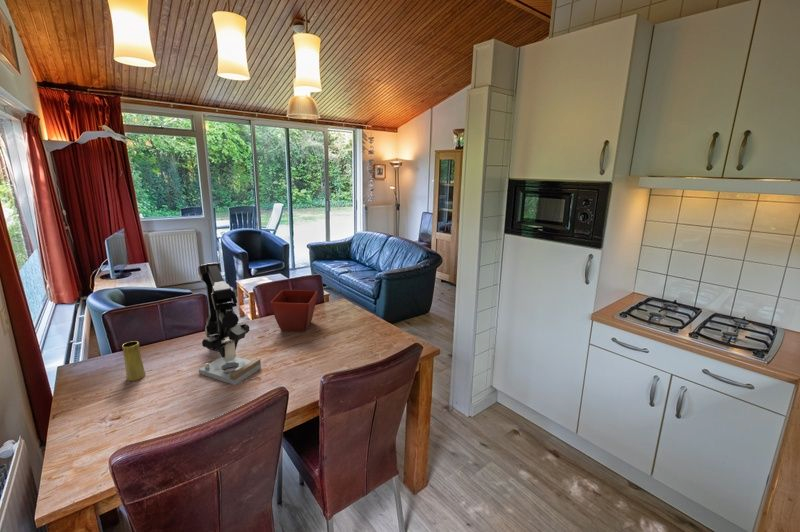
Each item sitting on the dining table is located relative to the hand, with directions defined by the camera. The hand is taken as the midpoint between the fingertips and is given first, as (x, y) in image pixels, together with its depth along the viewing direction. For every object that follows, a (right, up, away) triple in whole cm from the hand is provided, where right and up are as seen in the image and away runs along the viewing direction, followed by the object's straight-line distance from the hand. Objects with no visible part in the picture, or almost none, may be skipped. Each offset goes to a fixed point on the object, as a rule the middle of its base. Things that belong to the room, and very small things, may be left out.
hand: (228, 354), depth 152 cm
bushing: (0, -1, 0) cm, 2 cm away
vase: (-35, -8, -4) cm, 36 cm away
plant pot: (+15, +4, +45) cm, 48 cm away
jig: (0, -7, +2) cm, 7 cm away
